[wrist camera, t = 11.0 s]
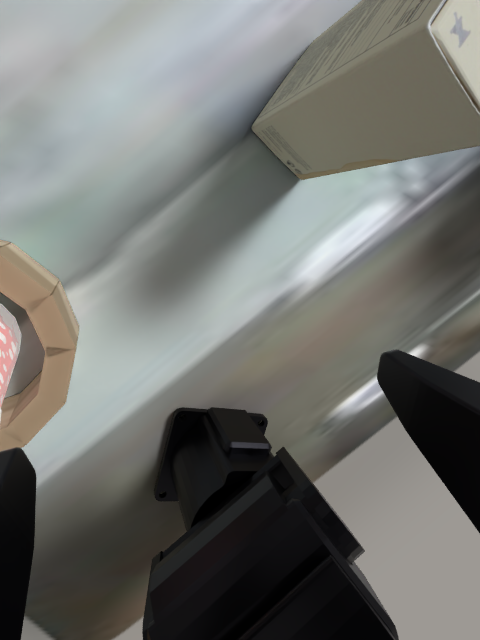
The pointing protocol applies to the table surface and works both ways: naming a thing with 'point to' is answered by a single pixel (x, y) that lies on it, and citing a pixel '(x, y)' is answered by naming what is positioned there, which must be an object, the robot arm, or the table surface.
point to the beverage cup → (7, 349)
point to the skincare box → (380, 89)
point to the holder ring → (55, 336)
